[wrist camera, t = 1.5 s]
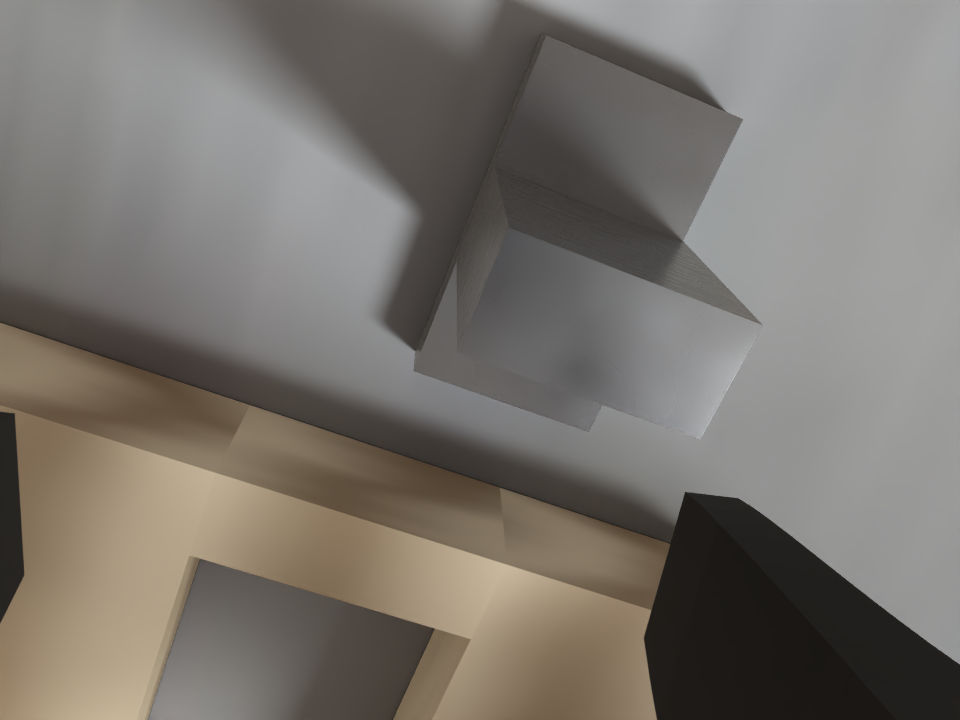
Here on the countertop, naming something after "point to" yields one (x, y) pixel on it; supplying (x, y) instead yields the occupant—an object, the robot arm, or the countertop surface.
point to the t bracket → (592, 255)
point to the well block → (293, 551)
